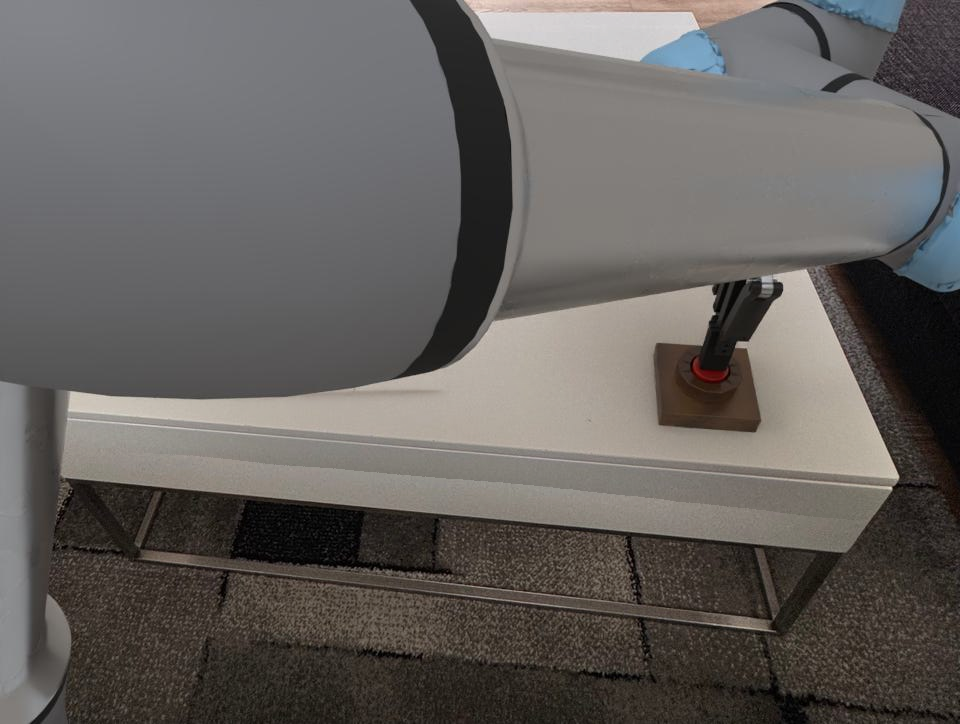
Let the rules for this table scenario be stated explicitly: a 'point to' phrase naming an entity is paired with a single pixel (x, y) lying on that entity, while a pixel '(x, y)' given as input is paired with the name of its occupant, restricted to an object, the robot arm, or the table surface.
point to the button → (708, 374)
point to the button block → (704, 391)
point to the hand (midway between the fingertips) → (712, 364)
